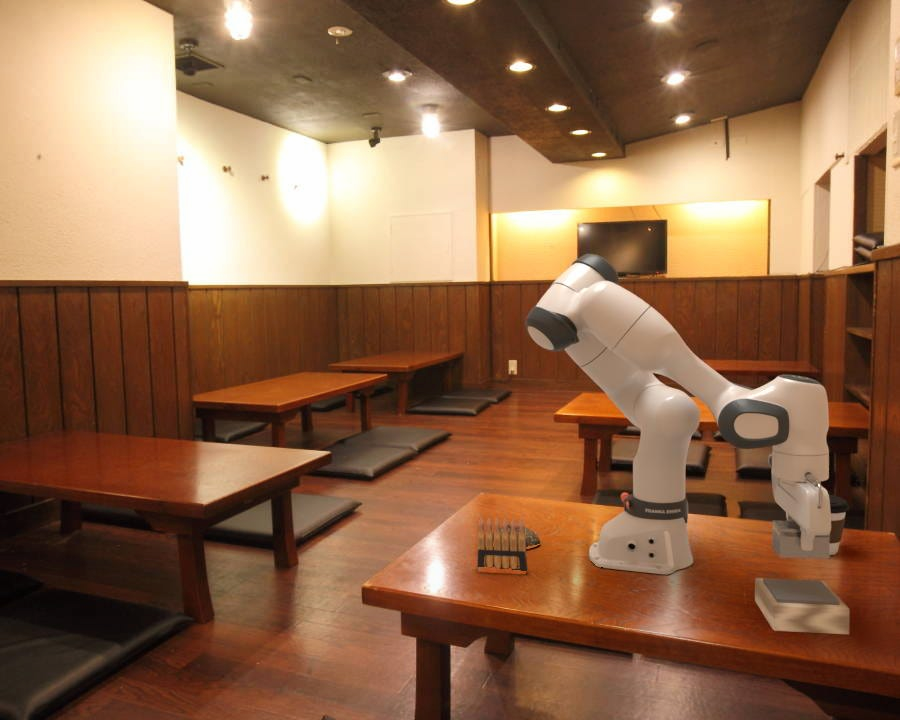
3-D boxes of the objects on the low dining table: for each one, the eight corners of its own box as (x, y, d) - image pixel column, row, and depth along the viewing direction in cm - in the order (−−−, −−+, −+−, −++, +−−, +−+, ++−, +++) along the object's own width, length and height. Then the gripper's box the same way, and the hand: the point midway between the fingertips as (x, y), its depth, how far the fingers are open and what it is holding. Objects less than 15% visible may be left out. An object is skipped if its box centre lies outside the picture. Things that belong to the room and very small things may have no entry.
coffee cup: (860, 558, 147) (861, 504, 146) (812, 561, 146) (813, 507, 145) (828, 541, 158) (829, 491, 157) (783, 544, 157) (784, 493, 156)
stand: (773, 630, 117) (773, 602, 116) (754, 600, 128) (755, 575, 128) (849, 634, 115) (849, 605, 114) (823, 603, 126) (823, 577, 126)
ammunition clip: (477, 572, 146) (475, 518, 145) (478, 569, 148) (477, 515, 147) (526, 575, 144) (525, 520, 143) (527, 571, 146) (526, 517, 145)
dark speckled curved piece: (547, 549, 160) (546, 528, 159) (500, 558, 155) (499, 536, 155) (521, 533, 172) (520, 513, 171) (476, 540, 167) (476, 521, 166)
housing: (829, 558, 118) (829, 529, 117) (779, 557, 119) (779, 528, 119) (820, 549, 122) (820, 521, 121) (772, 548, 123) (772, 520, 123)
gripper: (842, 482, 108) (842, 566, 110) (801, 454, 128) (801, 525, 130) (799, 482, 110) (799, 564, 111) (765, 454, 130) (766, 524, 131)
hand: (800, 543), depth 120 cm, fingers closed on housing, 4 cm apart
